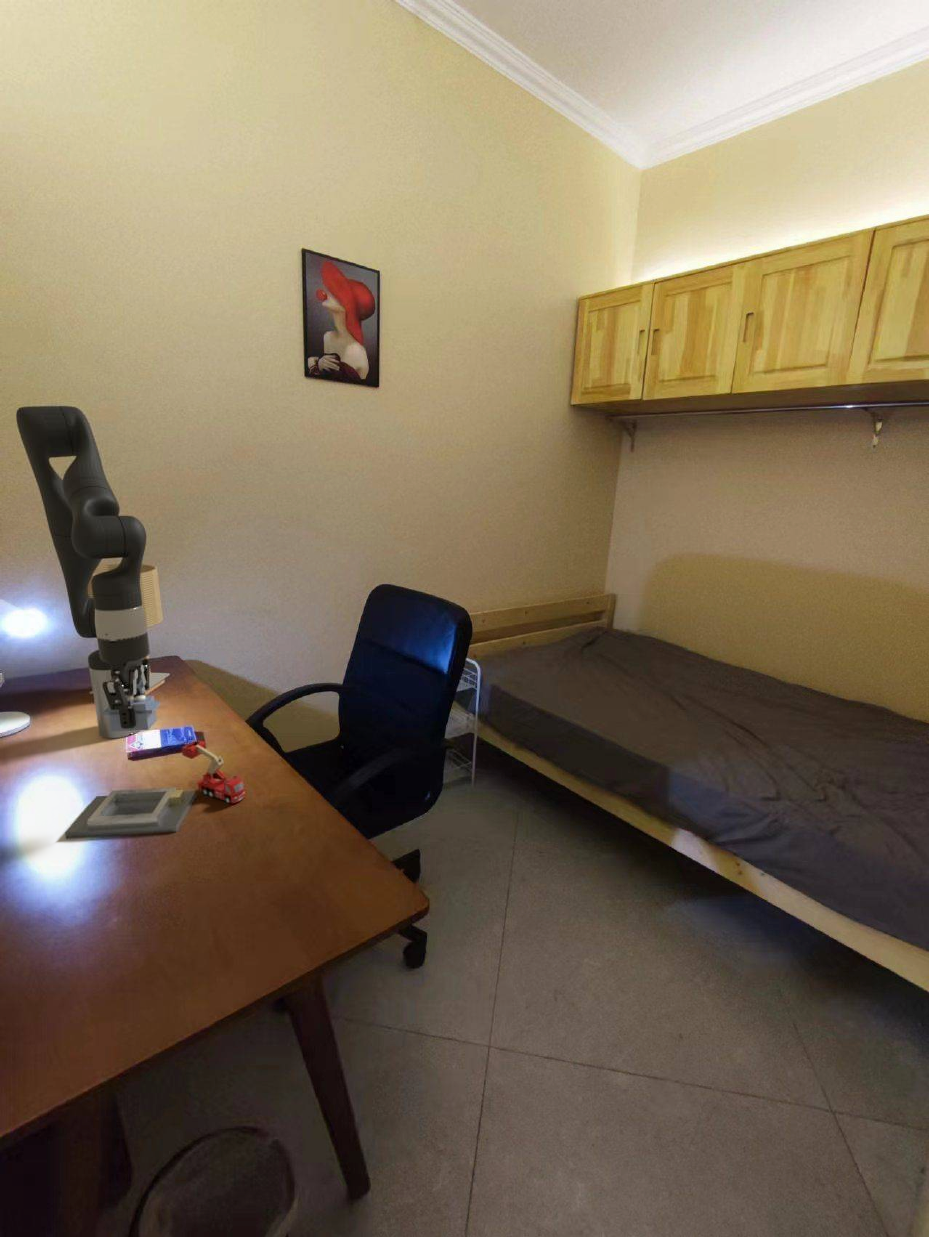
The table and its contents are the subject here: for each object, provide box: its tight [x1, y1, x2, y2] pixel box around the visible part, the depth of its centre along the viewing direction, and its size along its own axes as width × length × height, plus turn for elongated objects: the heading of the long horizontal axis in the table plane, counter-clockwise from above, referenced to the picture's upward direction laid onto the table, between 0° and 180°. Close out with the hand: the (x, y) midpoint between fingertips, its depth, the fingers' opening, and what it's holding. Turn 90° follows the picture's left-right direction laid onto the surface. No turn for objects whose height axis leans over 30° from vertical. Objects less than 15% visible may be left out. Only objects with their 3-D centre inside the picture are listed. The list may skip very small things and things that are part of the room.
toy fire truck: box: [181, 740, 246, 804], centre depth 108 cm, size 3×14×10 cm, turn 65°
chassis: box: [64, 787, 197, 840], centre depth 100 cm, size 11×18×3 cm, turn 99°
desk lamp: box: [88, 563, 170, 695], centre depth 152 cm, size 20×20×35 cm
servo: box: [103, 695, 162, 731], centre depth 98 cm, size 4×8×6 cm, turn 99°
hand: (134, 721), depth 99 cm, fingers closed on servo, 4 cm apart
